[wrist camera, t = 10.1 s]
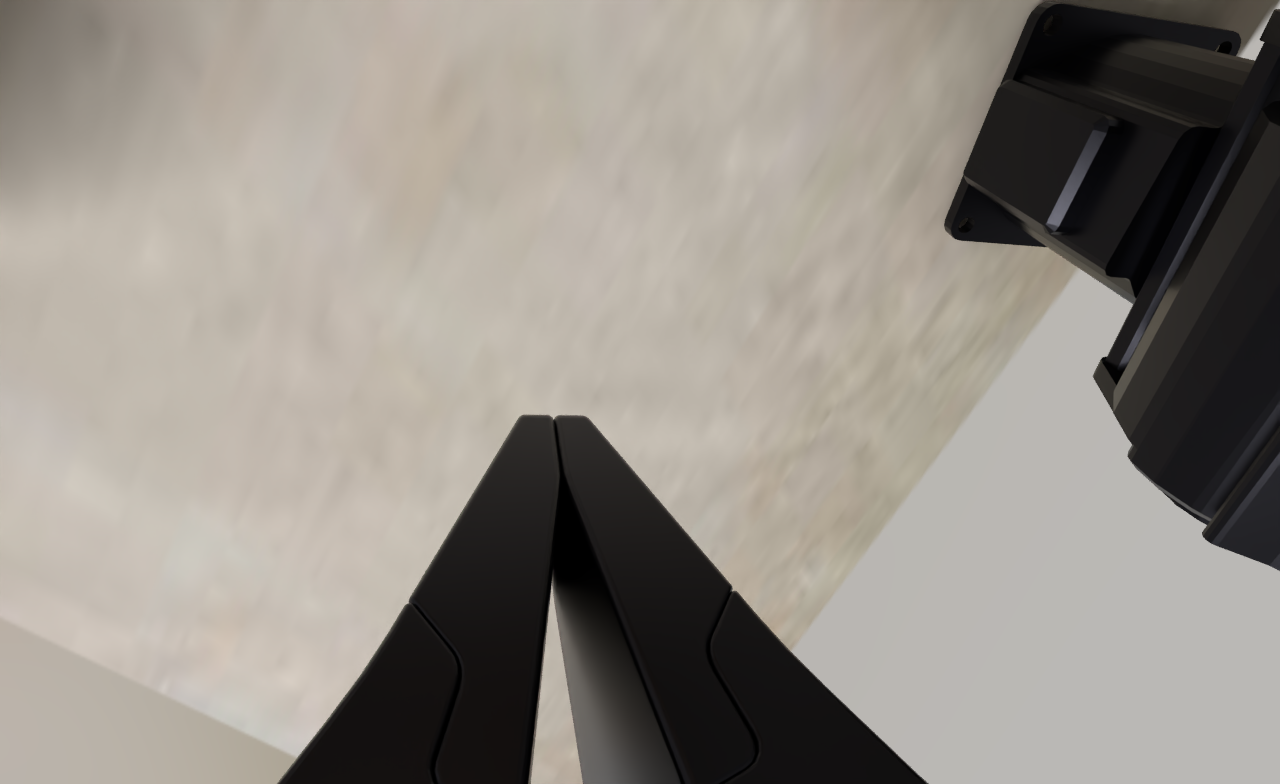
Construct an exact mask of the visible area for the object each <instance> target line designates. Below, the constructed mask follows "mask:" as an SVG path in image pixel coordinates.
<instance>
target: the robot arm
mask: <svg viewBox="0 0 1280 784" xmlns="http://www.w3.org/2000/svg"><path fill="white" fill-rule="evenodd" d="M1050 16H1052V17H1053V20H1052V24H1051V26H1050V27H1049V29H1048V30H1047V31H1045V32H1044V31H1043V28H1044V23H1045V22H1046V20H1047V19H1048V18H1049V17H1050ZM1260 40H1261V41H1263V42H1265V43H1264V44H1263V46H1262V48H1261V50H1260V52H1259V55H1258V56H1257V59H1256V60H1255V61H1254V60H1249V59H1245V58H1241V57H1237V56H1236V55H1237V53H1238V50H1239V48H1240V44H1241V38H1240V36H1239V34H1238V33H1236V32H1234V31H1230V30H1225V29H1219V28H1213V27H1207V26H1201V25H1194V24H1188V23H1182V22H1176V21H1170V20H1164V19H1158V18H1151V17H1145V16H1139V15H1133V14H1127V13H1121V12H1115V11H1109V10H1102V9H1096V8H1090V7H1084V6H1078V5H1072V4H1066V3H1059V2H1053V1H1051V2H1044V3H1043V4H1041V5H1039V6H1037V7H1036V8H1035V9H1034V10H1033V11H1032V13H1031V14H1030V16H1029V18H1028V19H1027V22H1026V24H1025V26H1024V29H1023V31H1022V34H1021V36H1020V39H1019V41H1018V44H1017V46H1016V48H1015V51H1014V53H1013V56H1012V58H1011V61H1010V63H1009V65H1008V68H1007V70H1006V73H1005V75H1004V78H1003V80H1002V82H1001V85H1000V87H999V88H998V89H997V92H996V94H995V96H994V99H993V101H992V104H991V106H990V109H989V111H988V114H987V116H986V118H985V121H984V123H983V126H982V128H981V131H980V133H979V135H978V138H977V140H976V143H975V145H974V148H973V150H972V153H971V155H970V157H969V160H968V162H967V165H966V167H965V170H964V175H963V177H962V180H961V182H960V185H959V187H958V190H957V192H956V194H955V197H954V199H953V202H952V204H951V207H950V209H949V212H948V214H947V216H946V219H945V223H944V227H945V230H946V232H947V233H948V234H949V235H951V236H952V237H953V238H955V239H957V240H961V241H974V242H987V243H1000V244H1013V245H1026V246H1039V247H1048V248H1050V249H1051V250H1053V251H1054V252H1056V253H1057V254H1059V255H1060V256H1062V257H1063V258H1065V259H1066V260H1068V261H1069V262H1071V263H1072V264H1074V265H1075V266H1077V267H1078V268H1080V269H1081V270H1083V271H1084V272H1086V273H1087V274H1089V275H1090V276H1092V277H1093V278H1095V279H1096V280H1098V281H1099V282H1101V283H1102V284H1104V285H1105V286H1107V287H1108V288H1110V289H1111V290H1113V291H1114V292H1116V293H1117V294H1119V295H1120V296H1122V297H1123V298H1125V299H1126V300H1128V301H1129V302H1131V303H1132V304H1133V307H1132V308H1131V310H1130V312H1129V314H1128V316H1127V318H1126V320H1125V322H1124V324H1123V326H1122V328H1121V330H1120V332H1119V334H1118V336H1117V338H1116V340H1115V342H1114V344H1113V346H1112V348H1111V350H1110V352H1109V354H1108V356H1107V357H1103V358H1102V359H1101V360H1100V362H1099V364H1098V366H1097V368H1096V370H1095V373H1094V375H1093V378H1094V380H1095V381H1096V383H1097V385H1098V386H1099V388H1100V390H1101V392H1102V393H1103V395H1104V397H1105V398H1106V400H1107V402H1108V404H1109V405H1110V407H1111V409H1112V411H1113V413H1114V415H1115V417H1116V418H1117V420H1118V422H1119V424H1120V425H1121V427H1122V429H1123V431H1124V432H1125V434H1126V436H1127V438H1128V439H1129V441H1130V442H1131V443H1132V446H1131V448H1130V450H1129V452H1128V458H1129V459H1130V461H1131V462H1132V464H1133V465H1134V466H1135V468H1136V469H1137V470H1138V471H1140V472H1141V473H1142V474H1143V475H1144V476H1145V477H1146V478H1147V479H1148V480H1149V481H1151V482H1152V483H1153V484H1154V485H1155V486H1156V487H1157V488H1158V489H1159V490H1161V491H1162V492H1163V493H1164V494H1165V495H1166V496H1167V497H1168V498H1170V499H1171V500H1172V501H1173V502H1174V504H1175V505H1177V506H1178V507H1180V508H1181V509H1183V510H1184V511H1186V512H1187V513H1189V514H1190V515H1192V516H1193V517H1194V518H1196V519H1197V520H1199V521H1201V522H1203V523H1205V524H1206V525H1207V526H1206V528H1205V529H1204V531H1203V532H1202V535H1203V537H1204V538H1205V539H1206V540H1207V541H1208V542H1210V543H1211V544H1214V545H1216V546H1219V547H1221V548H1224V549H1227V550H1229V551H1232V552H1235V553H1237V554H1240V555H1243V556H1246V557H1248V558H1251V559H1253V560H1256V561H1259V562H1261V563H1264V564H1267V565H1269V566H1271V567H1273V568H1275V569H1277V570H1279V571H1280V9H1275V10H1274V11H1273V13H1272V15H1271V17H1270V19H1269V22H1268V24H1267V26H1266V28H1265V30H1264V32H1263V34H1262V36H1261V38H1260ZM1219 45H1220V46H1219ZM1218 46H1219V49H1218V51H1217V52H1215V50H1216V48H1217V47H1218ZM965 218H967V222H966V223H965V224H964V225H963V226H962V227H959V224H960V222H961V221H962V220H963V219H965ZM551 584H552V586H553V594H554V602H555V609H556V615H557V621H558V628H559V634H560V640H561V647H562V653H563V659H564V666H565V672H566V678H567V685H568V691H569V697H570V704H571V710H572V716H573V723H574V729H575V735H576V742H577V748H578V754H579V761H580V767H581V773H582V779H583V784H928V783H927V782H926V781H925V780H924V779H923V778H922V777H920V776H919V775H918V774H917V773H916V772H915V771H914V770H913V769H912V768H911V767H910V766H909V765H908V764H907V763H906V762H905V761H903V760H902V759H901V758H900V757H899V756H898V755H897V754H896V753H895V752H894V751H893V750H892V749H891V748H890V747H889V746H888V745H887V744H885V742H884V741H882V740H881V739H880V738H879V737H878V736H877V735H876V734H875V733H874V732H873V731H872V730H871V729H870V728H869V727H868V726H867V725H866V724H865V723H863V721H861V720H860V719H859V718H858V717H857V716H856V715H855V714H854V713H853V712H852V711H851V710H850V709H849V708H848V707H847V706H846V705H845V704H844V703H843V702H841V701H840V700H839V699H838V698H837V697H836V696H835V695H834V694H833V693H832V692H831V691H830V690H829V689H828V688H827V687H826V686H825V685H823V683H822V682H821V681H820V680H819V679H818V678H817V677H816V676H815V675H814V674H813V673H812V672H810V671H809V669H808V668H807V667H805V665H804V664H803V663H802V662H801V661H800V660H799V659H798V658H797V657H796V656H794V654H793V653H792V652H791V651H790V650H789V649H788V648H787V647H786V646H785V645H784V644H783V643H782V642H781V641H780V640H779V639H778V637H777V636H776V635H775V634H774V633H773V632H772V631H771V630H770V629H769V627H768V626H767V625H766V624H765V623H764V622H763V621H762V620H761V619H760V618H759V616H758V615H757V614H756V613H755V612H754V611H753V610H752V608H751V607H750V606H749V605H748V604H747V603H746V601H745V600H744V599H743V598H742V597H741V596H740V594H739V593H738V592H737V591H732V589H733V588H732V585H731V584H730V583H729V582H728V581H727V580H726V578H725V577H724V576H723V575H722V574H721V573H720V571H719V570H718V569H717V568H716V567H715V566H714V564H713V563H712V562H711V561H710V560H709V558H708V557H707V556H706V555H705V554H704V553H703V551H702V550H701V549H700V548H699V547H698V546H697V544H696V543H695V542H694V541H693V540H692V539H691V537H690V536H689V535H688V534H687V533H686V532H685V530H684V529H683V528H682V527H681V526H680V525H679V523H678V522H677V521H676V520H675V519H674V518H673V516H672V515H671V514H670V513H669V512H668V511H667V509H666V508H665V507H664V506H663V505H662V504H661V502H660V501H659V500H658V499H657V498H656V497H655V495H654V494H653V493H652V492H651V491H650V490H649V488H648V487H647V486H646V485H645V484H644V482H643V481H642V480H641V479H640V478H639V477H638V475H637V474H636V473H635V472H634V471H633V470H632V468H631V467H630V466H629V465H628V464H627V463H626V461H625V460H624V459H623V458H622V457H621V456H620V454H619V453H618V452H617V451H616V450H615V449H614V447H613V446H612V445H611V444H610V443H609V442H608V440H607V439H606V438H605V437H604V436H603V435H602V433H601V432H600V431H599V430H598V429H597V428H596V426H595V425H594V424H593V423H592V422H591V421H590V419H589V418H587V417H586V416H578V415H558V416H556V417H555V419H554V420H553V418H552V417H551V416H550V415H522V416H520V417H519V418H518V420H517V421H516V423H515V425H514V426H513V428H512V430H511V431H510V433H509V435H508V436H507V438H506V440H505V441H504V443H503V445H502V446H501V448H500V450H499V451H498V453H497V454H496V456H495V458H494V459H493V461H492V463H491V464H490V466H489V468H488V469H487V471H486V473H485V474H484V476H483V478H482V479H481V481H480V483H479V484H478V486H477V488H476V489H475V491H474V493H473V494H472V496H471V497H470V499H469V501H468V502H467V504H466V506H465V507H464V509H463V511H462V512H461V514H460V516H459V517H458V519H457V521H456V522H455V524H454V526H453V527H452V529H451V531H450V532H449V534H448V536H447V537H446V539H445V540H444V542H443V544H442V545H441V547H440V549H439V550H438V552H437V554H436V555H435V557H434V559H433V560H432V562H431V564H430V565H429V567H428V569H427V570H426V572H425V574H424V575H423V577H422V579H421V580H420V582H419V584H418V585H417V587H416V588H415V590H414V592H413V593H412V595H411V597H410V599H409V604H406V605H405V606H404V608H403V609H402V611H401V613H400V614H399V616H398V618H397V619H396V621H395V623H394V624H393V626H392V628H391V629H390V631H389V632H388V634H387V636H386V637H385V639H384V640H383V642H382V643H381V645H380V646H379V648H378V649H377V651H376V652H375V654H374V655H373V657H372V658H371V660H370V662H369V663H368V665H367V666H366V668H365V669H364V671H363V672H362V674H361V675H360V677H359V678H358V679H357V681H356V682H355V683H354V685H353V686H352V687H351V689H350V690H349V691H348V693H347V694H346V695H345V697H344V698H343V699H342V701H341V702H340V703H339V705H338V706H337V707H336V709H335V710H334V711H333V713H332V714H331V715H330V717H329V718H328V720H327V721H326V722H325V723H324V725H323V726H322V727H321V729H320V730H319V731H318V732H317V734H316V735H315V736H314V737H313V739H312V740H311V741H310V742H309V744H308V745H307V746H306V748H305V749H304V750H303V751H302V753H301V754H300V755H299V756H298V758H297V759H296V760H295V762H294V763H293V764H292V765H291V767H290V768H289V769H288V770H287V772H286V773H285V774H284V776H283V777H282V778H281V779H280V781H279V782H278V783H277V784H531V775H532V765H533V756H534V746H535V737H536V727H537V718H538V708H539V699H540V689H541V680H542V670H543V661H544V651H545V642H546V632H547V623H548V613H549V604H550V594H551Z"/></svg>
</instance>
